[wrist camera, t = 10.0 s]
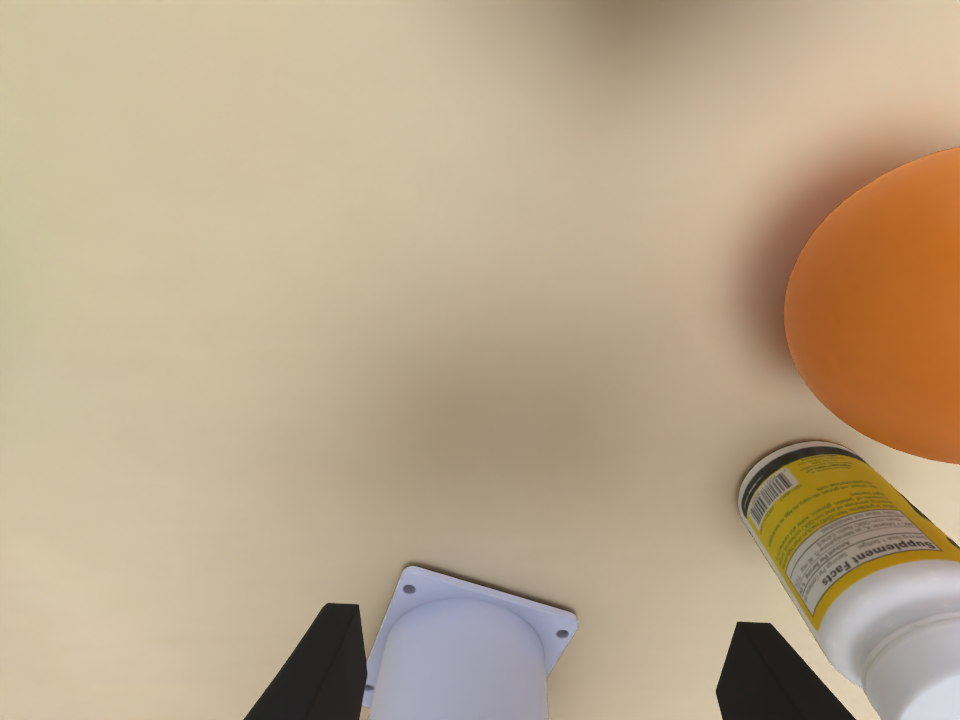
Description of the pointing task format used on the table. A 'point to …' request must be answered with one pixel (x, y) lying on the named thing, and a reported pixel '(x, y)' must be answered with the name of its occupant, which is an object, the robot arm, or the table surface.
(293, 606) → the table surface
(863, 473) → the supplement bottle
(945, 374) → the orange
